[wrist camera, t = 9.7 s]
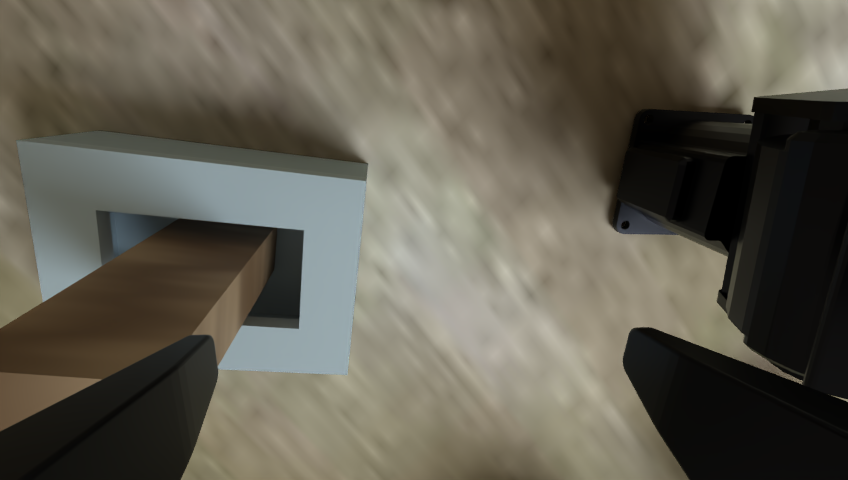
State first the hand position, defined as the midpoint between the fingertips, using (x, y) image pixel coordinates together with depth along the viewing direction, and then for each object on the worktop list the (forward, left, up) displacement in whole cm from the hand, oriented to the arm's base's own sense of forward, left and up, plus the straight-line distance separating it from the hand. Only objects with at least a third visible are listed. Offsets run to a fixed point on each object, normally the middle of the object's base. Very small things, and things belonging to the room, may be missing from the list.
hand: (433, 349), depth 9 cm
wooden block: (+8, +2, -12) cm, 15 cm away
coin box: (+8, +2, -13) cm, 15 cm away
